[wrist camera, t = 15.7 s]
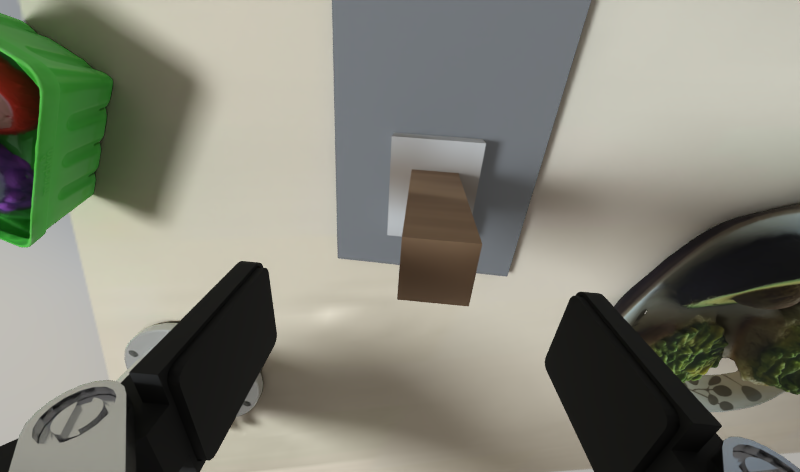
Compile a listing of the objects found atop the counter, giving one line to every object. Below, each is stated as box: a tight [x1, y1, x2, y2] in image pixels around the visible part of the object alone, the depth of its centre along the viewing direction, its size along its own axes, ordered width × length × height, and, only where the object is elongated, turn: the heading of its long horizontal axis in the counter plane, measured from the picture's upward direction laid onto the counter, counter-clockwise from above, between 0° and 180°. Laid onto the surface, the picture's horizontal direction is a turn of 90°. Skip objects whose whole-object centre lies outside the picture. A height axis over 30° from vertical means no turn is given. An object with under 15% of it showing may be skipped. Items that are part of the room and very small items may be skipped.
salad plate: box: [614, 204, 800, 412], centre depth 20 cm, size 19×18×5 cm
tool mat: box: [332, 0, 591, 276], centre depth 18 cm, size 16×12×1 cm
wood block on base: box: [387, 133, 486, 306], centre depth 14 cm, size 6×5×9 cm
